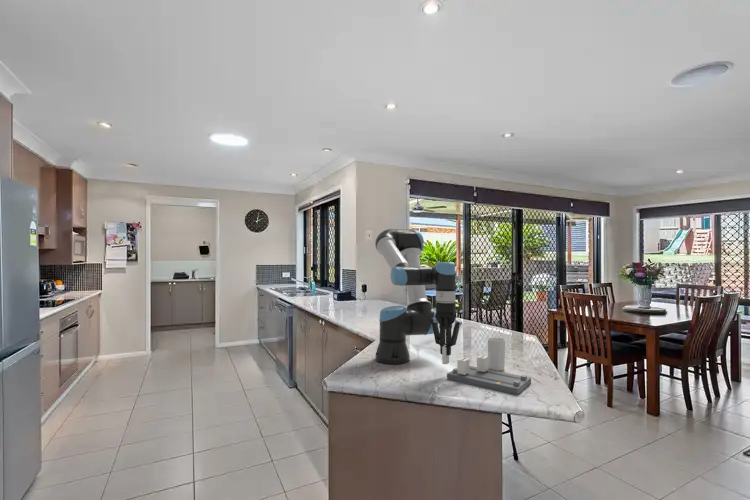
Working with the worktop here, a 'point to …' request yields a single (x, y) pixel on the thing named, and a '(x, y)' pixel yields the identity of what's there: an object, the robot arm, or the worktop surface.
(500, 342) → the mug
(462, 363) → the fader near
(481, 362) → the fader far
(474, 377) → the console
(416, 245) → the robot arm
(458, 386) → the worktop surface
